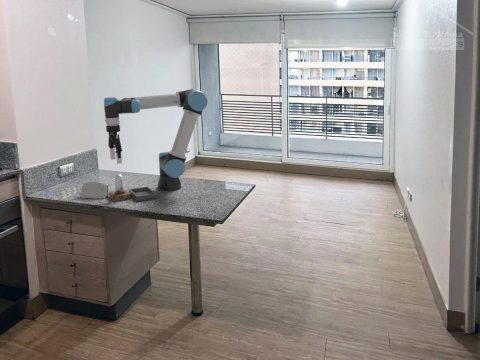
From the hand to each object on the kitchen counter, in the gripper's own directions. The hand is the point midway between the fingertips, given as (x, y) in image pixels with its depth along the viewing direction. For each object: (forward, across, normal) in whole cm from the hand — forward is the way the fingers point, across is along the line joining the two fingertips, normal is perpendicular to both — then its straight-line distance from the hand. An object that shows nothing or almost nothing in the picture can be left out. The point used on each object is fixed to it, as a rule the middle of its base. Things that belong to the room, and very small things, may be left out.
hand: (116, 161), depth 266 cm
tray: (+23, +2, +13) cm, 26 cm away
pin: (+22, -1, 0) cm, 22 cm away
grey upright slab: (+22, -12, -12) cm, 28 cm away
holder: (+22, -1, 0) cm, 22 cm away
